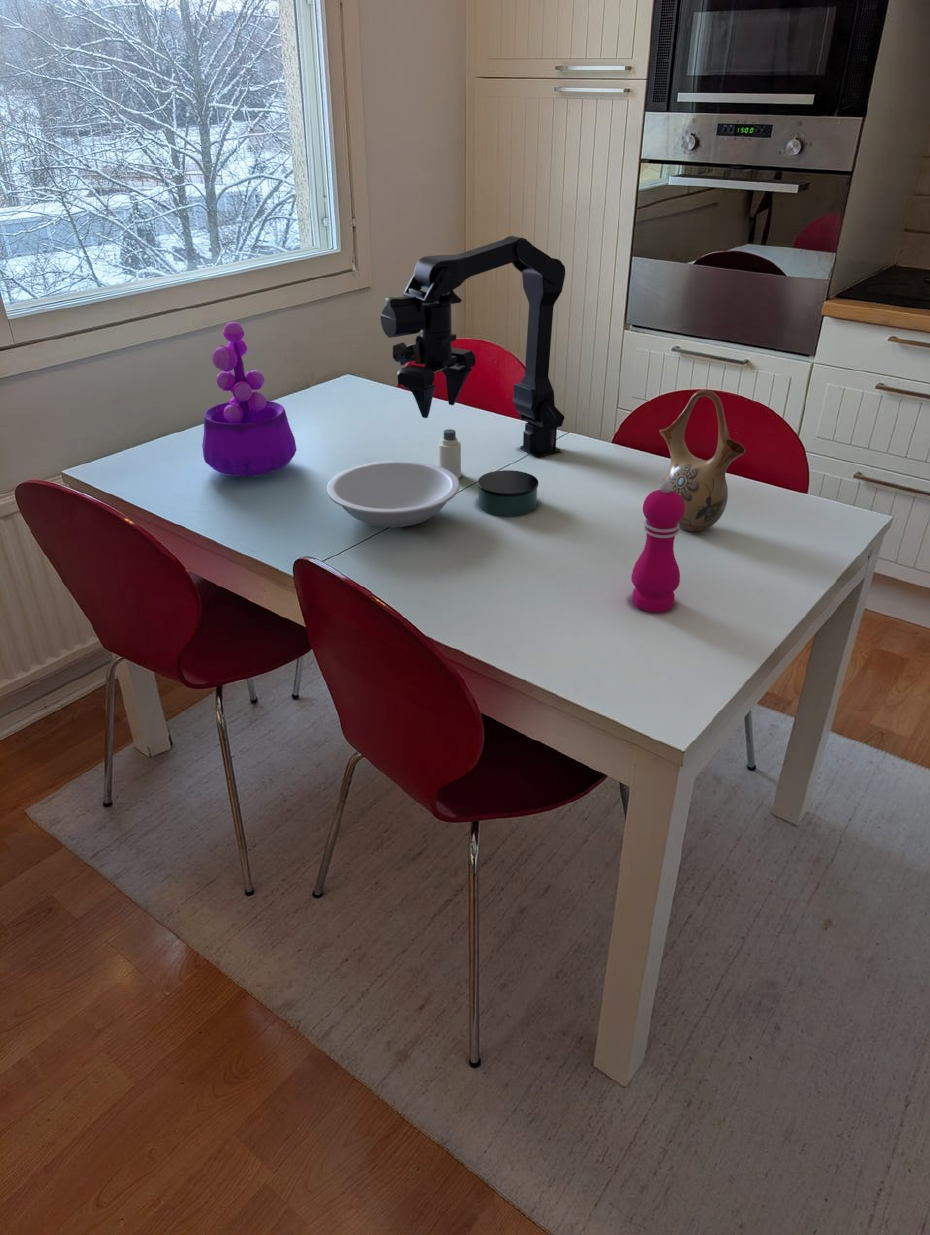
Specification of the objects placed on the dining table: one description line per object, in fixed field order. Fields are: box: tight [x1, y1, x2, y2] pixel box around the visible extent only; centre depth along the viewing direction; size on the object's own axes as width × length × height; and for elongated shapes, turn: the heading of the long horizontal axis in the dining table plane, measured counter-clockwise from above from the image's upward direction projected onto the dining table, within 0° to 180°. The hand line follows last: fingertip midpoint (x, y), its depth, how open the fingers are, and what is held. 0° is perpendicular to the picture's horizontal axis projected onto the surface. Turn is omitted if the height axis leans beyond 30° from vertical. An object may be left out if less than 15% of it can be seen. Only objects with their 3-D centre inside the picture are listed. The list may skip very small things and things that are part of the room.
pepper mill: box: [630, 481, 685, 613], centre depth 132 cm, size 7×7×20 cm
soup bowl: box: [326, 460, 461, 528], centre depth 163 cm, size 24×24×7 cm
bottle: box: [438, 429, 462, 479], centre depth 179 cm, size 4×4×10 cm
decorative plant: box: [201, 321, 298, 477], centre depth 178 cm, size 19×18×30 cm
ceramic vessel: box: [658, 389, 747, 533], centre depth 154 cm, size 16×9×25 cm, turn 45°
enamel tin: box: [477, 469, 539, 517], centre depth 168 cm, size 11×11×5 cm
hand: (438, 411), depth 174 cm, fingers open, 9 cm apart
